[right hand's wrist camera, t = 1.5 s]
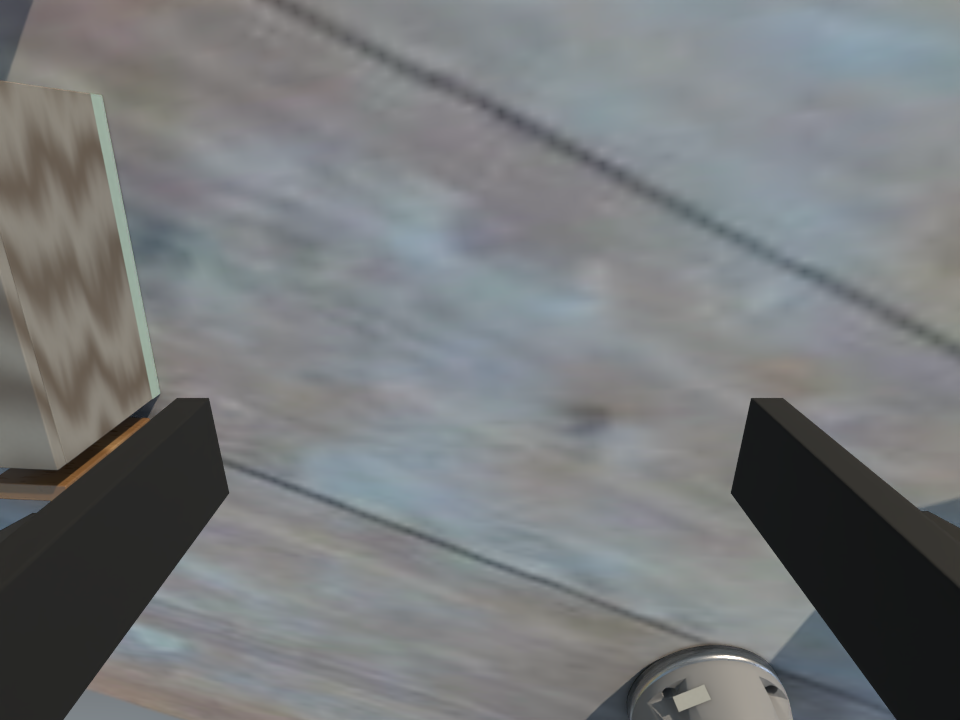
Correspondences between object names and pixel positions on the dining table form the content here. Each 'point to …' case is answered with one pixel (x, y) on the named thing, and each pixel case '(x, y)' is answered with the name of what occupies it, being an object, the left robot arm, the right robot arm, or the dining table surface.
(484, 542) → the dining table surface
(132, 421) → the drawer
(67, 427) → the cabinet
